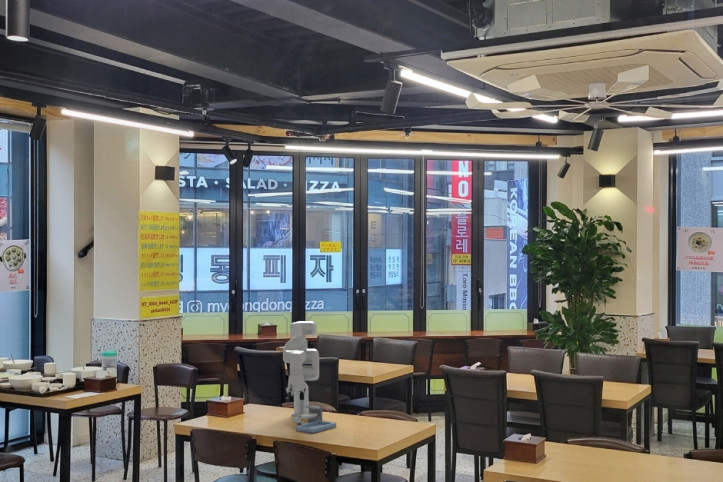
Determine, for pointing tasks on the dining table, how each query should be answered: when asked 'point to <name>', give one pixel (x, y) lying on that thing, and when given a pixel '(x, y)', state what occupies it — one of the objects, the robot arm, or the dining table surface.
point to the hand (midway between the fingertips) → (296, 401)
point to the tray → (315, 426)
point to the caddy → (304, 418)
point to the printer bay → (314, 410)
